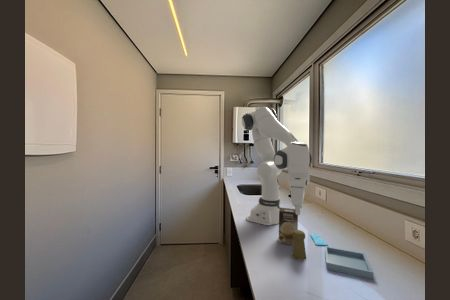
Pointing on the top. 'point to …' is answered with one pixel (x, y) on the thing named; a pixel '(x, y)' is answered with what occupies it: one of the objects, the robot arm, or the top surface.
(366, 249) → the top surface
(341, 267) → the tray
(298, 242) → the cork
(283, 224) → the coffee box
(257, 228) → the top surface
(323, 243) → the sponge
